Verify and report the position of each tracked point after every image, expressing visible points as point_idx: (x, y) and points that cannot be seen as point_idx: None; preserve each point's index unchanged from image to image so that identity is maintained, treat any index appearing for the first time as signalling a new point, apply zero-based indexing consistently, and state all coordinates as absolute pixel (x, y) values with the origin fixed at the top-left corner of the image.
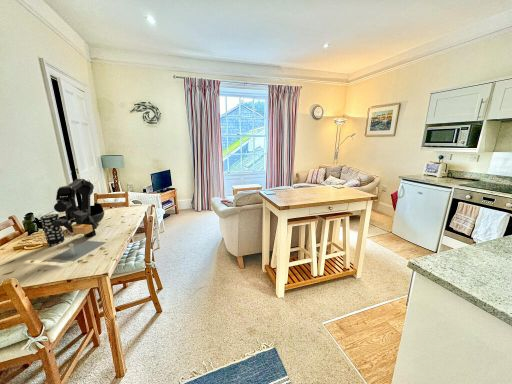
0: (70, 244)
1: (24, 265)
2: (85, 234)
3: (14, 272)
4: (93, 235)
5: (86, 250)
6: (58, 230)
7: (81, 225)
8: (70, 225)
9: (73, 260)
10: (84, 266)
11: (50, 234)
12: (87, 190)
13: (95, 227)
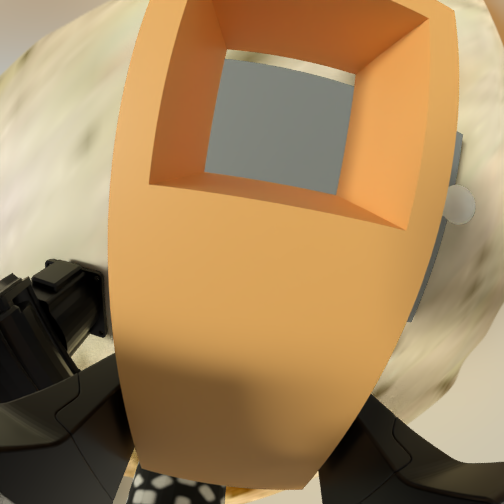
0: (474, 205)
1: (406, 391)
2: (82, 327)
3: (450, 373)
4: (67, 269)
5: (327, 132)
6: (177, 484)
7: (203, 301)
8: (432, 472)
9: (457, 142)
10: (467, 64)
11: (220, 487)
12: None
13: (8, 282)
